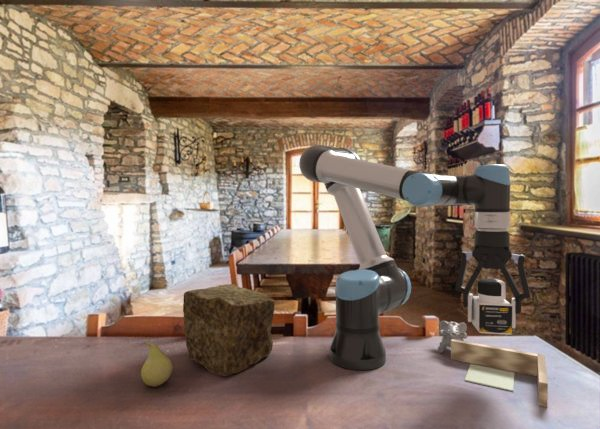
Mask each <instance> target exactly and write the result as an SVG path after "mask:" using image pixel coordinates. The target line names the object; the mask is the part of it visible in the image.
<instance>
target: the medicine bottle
mask: <svg viewBox="0 0 600 429" xmlns="http://www.w3.org/2000/svg"><path fill="white" fill-rule="evenodd" d="M506 291H507V282H505V281H503V280H501V279H497V278H490V277H489V278H487V277H486V278H485V277H484V278H480V279H479V280H478V281H477V295H473V319H472V322H471V323H472V326H474V327H475V329H476V330H477V332H478V333H480V334H491V335H510V336H511V335H513V328H512V303H510V302H509V301H508V300H507V299H506V298H507V297H506V296H507V292H506Z"/></svg>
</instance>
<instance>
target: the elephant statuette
mask: <svg viewBox="0 0 600 429" xmlns="http://www.w3.org/2000/svg"><path fill="white" fill-rule="evenodd" d="M439 329H440V330H439V331H438V335H439V336H441V337H442V338H441V341H440V342H439V346H438V347H437V350H438V353H440V354H443V353H444V351H445V349H446V348H447V347H448V348H450V349H451V340H452V339H454V340H460V341H465V340H464V339H468V333H466V332H467V329H468V327H467V324H466V323H465V322H459V323H458V322H456V321H446V320H441V321H440V322H439Z"/></svg>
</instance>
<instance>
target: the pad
mask: <svg viewBox="0 0 600 429" xmlns="http://www.w3.org/2000/svg"><path fill="white" fill-rule="evenodd" d="M515 374H516V372H513V371H508V370H503V369H498V368H493V367H488V366H483V365H478V364H473V363H469V367H468V370H467V372H466V375H465V378H464V382H469V383H472V384H478V385H482V386H487V387H491V388H495V389H496V388H497V389H500V390H505V391H508V392H514V386H515Z"/></svg>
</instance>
